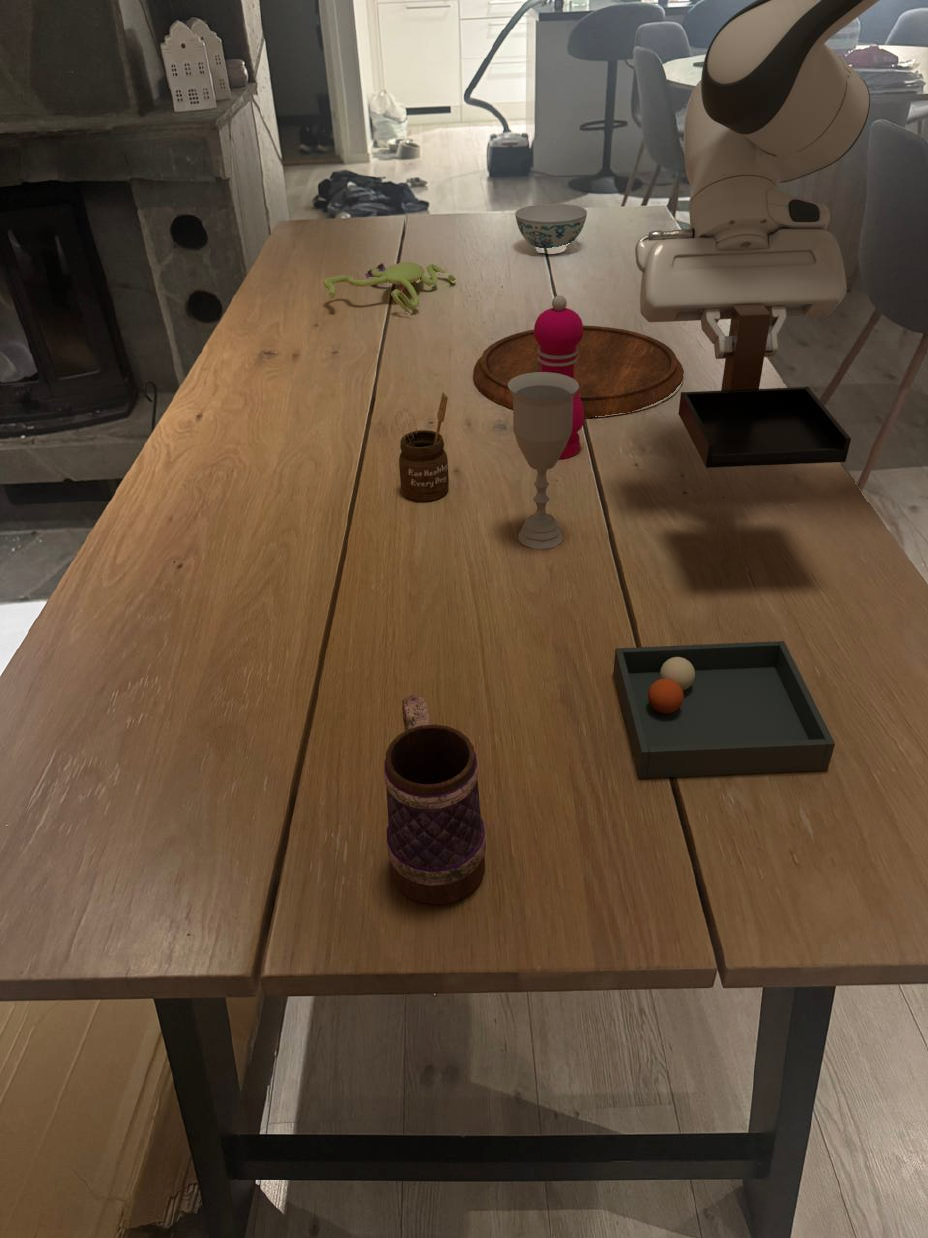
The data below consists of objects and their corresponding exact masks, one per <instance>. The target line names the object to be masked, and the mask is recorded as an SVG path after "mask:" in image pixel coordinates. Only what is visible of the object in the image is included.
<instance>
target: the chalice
mask: <svg viewBox="0 0 928 1238" xmlns="http://www.w3.org/2000/svg"><path fill="white" fill-rule="evenodd" d="M508 388H509V390H510V392H511V394H512V395H513V409H512V419H513V420H512V428H513V429H512V430H513V431H512V432H513V435H514V436H515V440H516V442H517V445H518V448H519V449H520V451H521V453H522V455H523V457H524V459H525V460H526V463H527V464H528V466H529V467H530V468H532V469H534V470H536V473H537V474H536V479H535V481H534V483H533V485H534V487H535V488H536V494H535V496H534V497H533V498H532V500H533V502H534V503H535V505H536V510H535V513H533V514H531V515H529V516H528V517H527V518H526V519H525V520H524V522H523V523H524V524H523V525H522V527H521V530H520V532H519V533H518V534H517V535H518V536H517V540H518V541H519V542H520V544H522V545H523V546H525V547H528V548H531V549H537V550H546V549H552V548H554V547H557V546H559V545H560V544H561V543H562V542H563V540H564V535H563V533H562V532H561V528H560V526H559V525H558V521H557V520H556V518H554V517H553V515H551V514H549V513H547V510H546V508H547V507H546V506H547V503H548V502H549V501H550V497H549V496H548V495H547V488H548V487H549V485H550V483H549V481H548V478H547V471H548V470H551V469H553V468H555V466H556V465H557V462H558V461H559V460H560V459H559V457H560V456H561V454H562V452H563V451H564V449H565V447H566V445H567V442H568V440H569V437H570V435H571V433H572V418H573V397H574V395H575V393H576V391H577V390H578V388H579V385H578V382H577V381H575V380H574V379H573V378H571V377H568V376H566V375H562V374H558V373H550V372H534V373H526V374H522V375H519V376H516V377H514V378H512V379H511V380H510V381H509V382H508Z"/></svg>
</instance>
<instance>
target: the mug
mask: <svg viewBox="0 0 928 1238" xmlns="http://www.w3.org/2000/svg"><path fill="white" fill-rule="evenodd" d="M401 711H402V719H403V730H404V731H403V732H401V733H400V734H397V736H396V737H394V739H393V740H392V741H391V742H390V743H389V744H388V747H387V749H386V751H385V758H384V765H383V767H384V768H383V769H384V771H383V772H384V784H385V788H386V804H387V806H386V807H387V823H388V824H387V827H386V848H387V849H386V850H387V857H388V859H389V863H390V874H391V877H392V879H393V882H394V884H395V886H396V887H397V889H398V890H400V891H401V893H403V895H405V896H406V897H408V898H410V899H412V900H414V901H416V902H418V903H423V904H429V905H443V904H450V903H453V902H456V901H458V900H461V899H464V898H465V897H466V896H468V895H469V894H470V893H471V892H473V891H475V889H476V888H477V886H479V884H480V882H481V881H482V880H483V877H484V873H485V870H486V858H485V852H486V849H487V843H486V842H487V841H486V831H485V822H484V820H483V818H482V812H481V802H480V792H479V791H480V790H479V779H478V778H479V767H478V760H477V753H476V751H475V747H474V745H473V743H472V742H471V740H470V738H469V737H468V736H467V735H466V734H464V733H462V731H460V730H458V729H455V728H453V727H451V726H448V725H441V724H436V723H434V724H431V720H430V713H429V710H428V704H427V701H426V698H424V697H421V696H418V695H414V694H412V695H410V696H407V697H405V698H403V699H402V700H401Z"/></svg>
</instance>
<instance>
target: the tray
mask: <svg viewBox="0 0 928 1238" xmlns="http://www.w3.org/2000/svg"><path fill="white" fill-rule="evenodd" d="M673 657H681V658H685V659H686V660H688V661H689V662H690V663H691V664H692V665H693V667H694V670H695V679H694V681H693V683H692V685H691V686H690V687H689V688H687V689H685V690H683V694H684V698H683V703H682V705H681V706H680V708H679V709H678V710H676V711H675V712H672V713H668V714H664V713H660V712H657V711H656V710H654V709H653V708H652V706H651V705H650V703H649V700H648V691H649V688H650V687H651V685H652V684H653V683H654V682H656V681H657V680H660V679H661V677H660V671H661V667H662V665H663V664H664V663H665V662H666V661H667V660H668V659H670V658H673ZM612 674H613V678H614V681H615V682H614V683H615V686H616V691H617V695H618V699H619V702H620V707H621V711H622V714H623V715H622V716H623V718H624V722H625V728H626V731H627V737H628V739H629V744H630V748H631V752H632V756H633V760H634V764H635V769H636V772H637V776H638V779H639V780H641V779H660V778H661V779H663V778H686V777H687V778H688V777H708V776H726V775H727V776H730V775H731V776H733V775H754V774H755V775H756V774H777V773H778V774H779V773H780V774H781V773H799V772H801V773H802V772H822V771H823V772H825V771H828V770H829V768H830V765H831V764H830V763H831V760H832V756H833V753H834V749H835V746H836V743H835V741H834V738H833V736H832V735H831V733H830V730H829V729H828V726H827V724H826V722H825V719H823V716H822V714H821V712H820V711H819V708H818V706H817V704H816V703H815V701H814V698H813V697H812V694H811V693H810V690H809V689H808V686H807V685H806V682H805V680H804V678H803V676H802V674H801V671H800V670H799V668H798V666H797V664H796V662H795V661H794V658H793V656H792V653H791V652H790V650H789V648H788V646H787V644H786V642H785V640H778V641H777V640H775V641H774V640H773V641H753V642H732V643H731V642H729V643H708V644H683V645H662V646H659V645H658V646H638V647H637V646H636V647H635V646H634V647H616V648H615V649H614V660H613V673H612Z"/></svg>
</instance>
